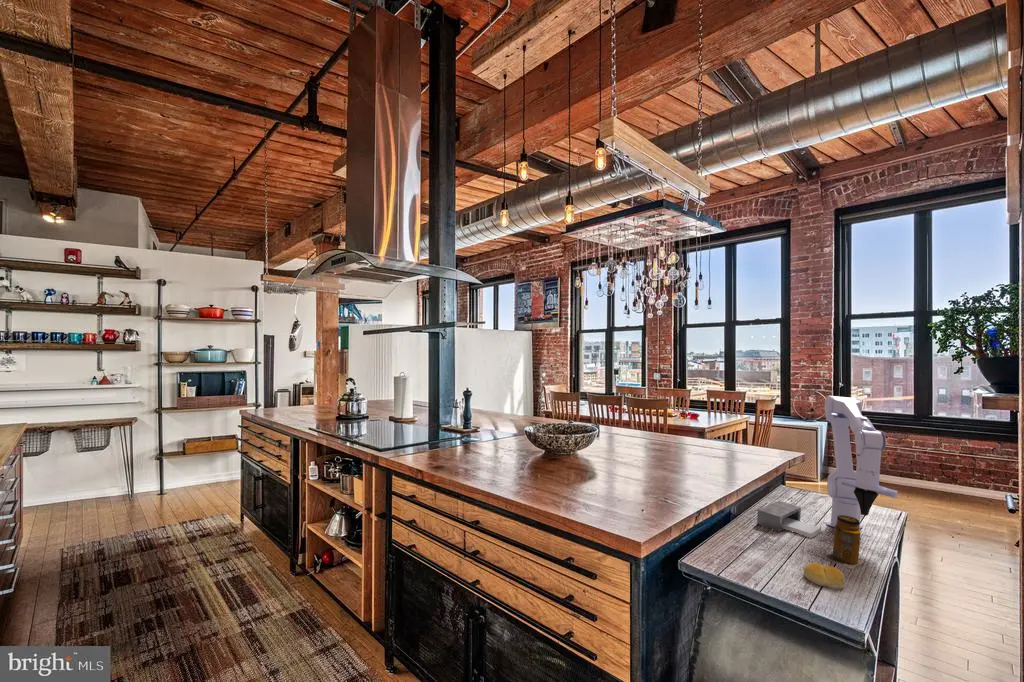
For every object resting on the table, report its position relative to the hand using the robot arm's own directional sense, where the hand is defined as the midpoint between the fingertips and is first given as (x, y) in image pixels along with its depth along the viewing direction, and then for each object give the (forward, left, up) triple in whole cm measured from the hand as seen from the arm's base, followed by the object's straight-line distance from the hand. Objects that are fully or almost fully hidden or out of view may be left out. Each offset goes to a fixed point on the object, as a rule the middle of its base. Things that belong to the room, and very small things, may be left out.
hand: (864, 514), depth 146 cm
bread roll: (+34, +1, -10) cm, 35 cm away
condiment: (+16, 0, -10) cm, 19 cm away
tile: (+4, -18, -10) cm, 21 cm away
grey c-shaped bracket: (+4, -23, -10) cm, 25 cm away
